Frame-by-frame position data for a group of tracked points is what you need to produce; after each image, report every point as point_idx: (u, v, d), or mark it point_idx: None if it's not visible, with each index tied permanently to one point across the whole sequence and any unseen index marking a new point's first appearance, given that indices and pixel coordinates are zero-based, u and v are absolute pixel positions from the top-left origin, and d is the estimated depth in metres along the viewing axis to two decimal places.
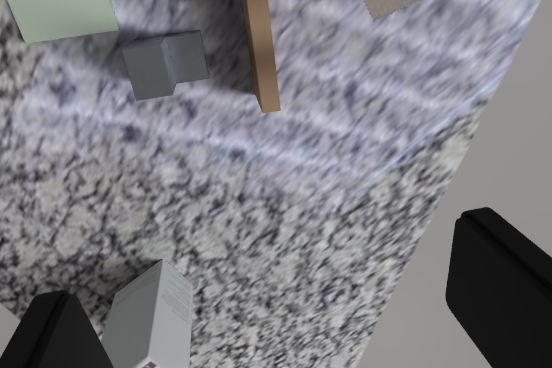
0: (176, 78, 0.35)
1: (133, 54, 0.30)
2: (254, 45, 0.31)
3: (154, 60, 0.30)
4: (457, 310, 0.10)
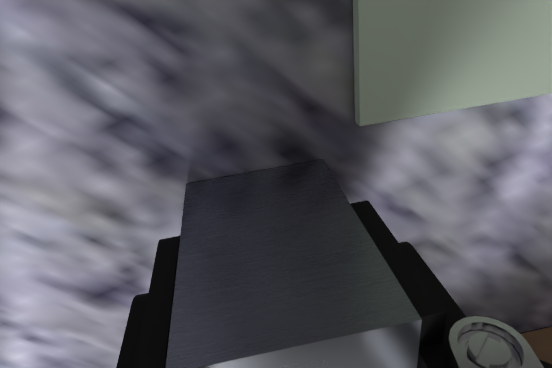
0: None
1: (394, 358, 0.06)
2: None
3: None
4: None
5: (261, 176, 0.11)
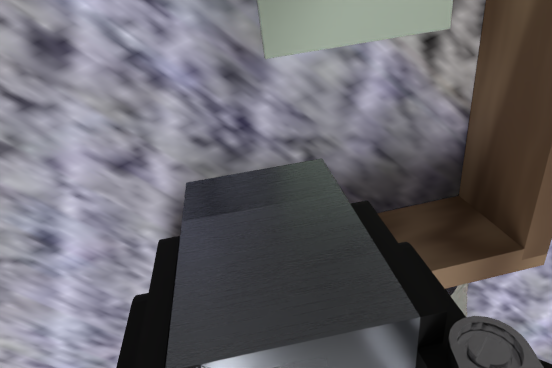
0: None
1: (393, 356, 0.06)
2: None
3: None
4: None
5: (261, 175, 0.11)
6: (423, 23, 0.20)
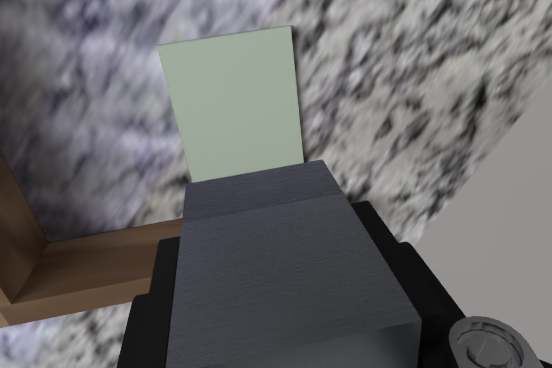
0: None
1: (394, 359, 0.06)
2: None
3: None
4: None
5: (261, 175, 0.11)
6: (196, 171, 0.26)
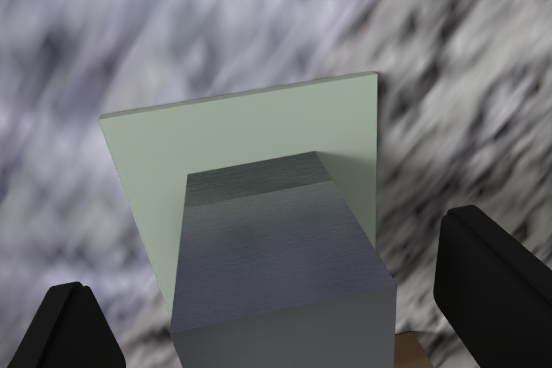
0: None
1: (374, 322, 0.07)
2: None
3: None
4: (444, 306, 0.10)
5: (257, 166, 0.11)
6: None
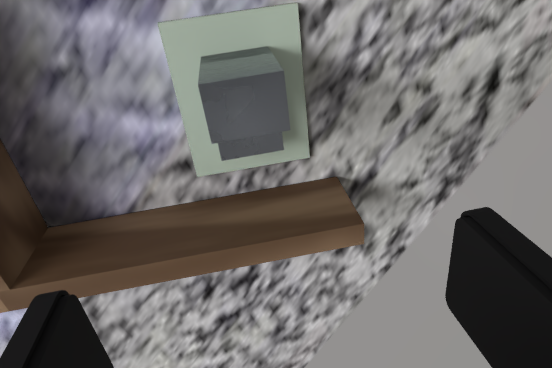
0: None
1: (277, 89, 0.18)
2: None
3: (266, 120, 0.19)
4: (457, 310, 0.10)
5: (237, 51, 0.22)
6: (199, 156, 0.26)
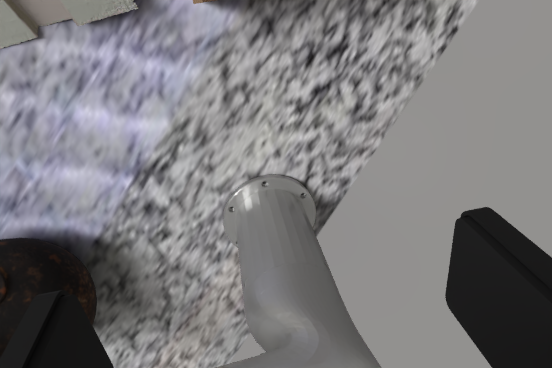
0: None
1: None
2: None
3: None
4: (457, 310, 0.10)
5: None
6: None
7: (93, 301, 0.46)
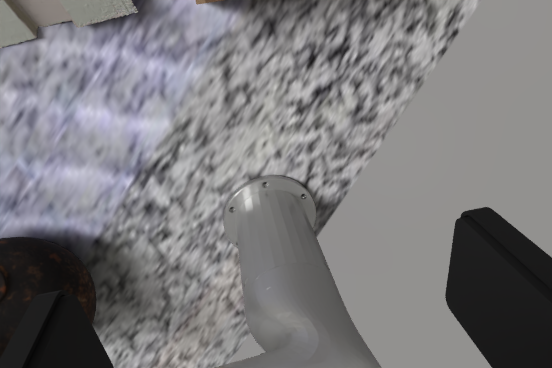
0: None
1: None
2: None
3: None
4: (457, 310, 0.10)
5: None
6: None
7: (93, 301, 0.46)
